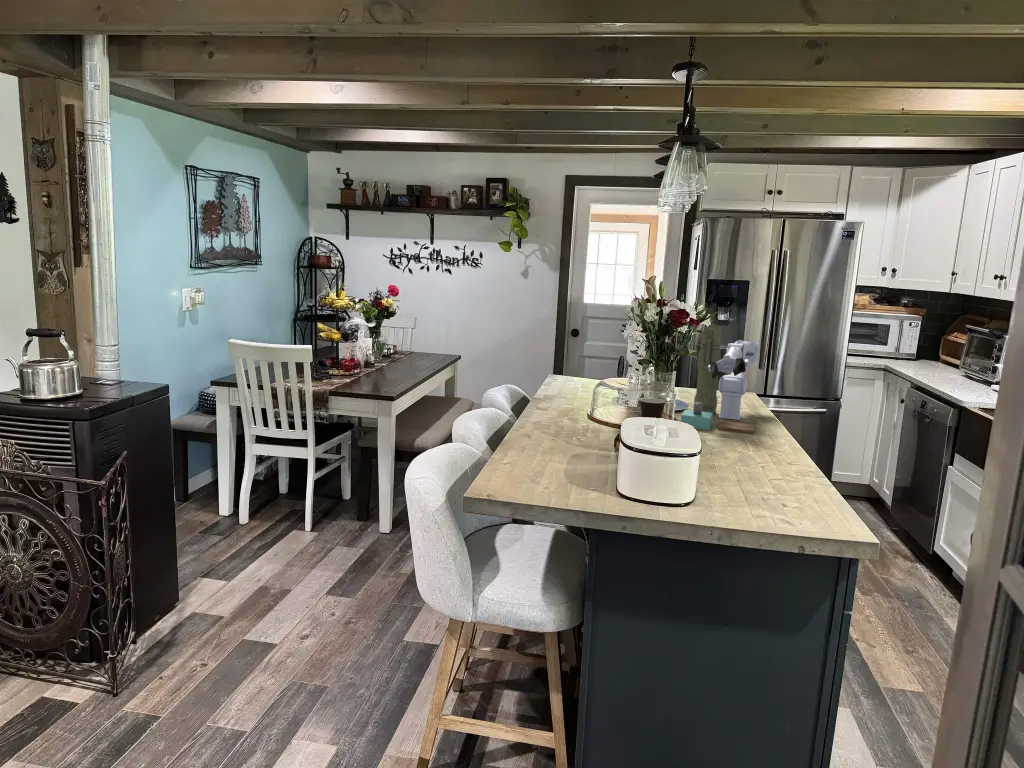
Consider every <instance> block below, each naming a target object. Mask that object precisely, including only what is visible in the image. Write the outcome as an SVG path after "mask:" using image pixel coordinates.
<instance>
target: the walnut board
mask: <svg viewBox="0 0 1024 768" xmlns="http://www.w3.org/2000/svg"><path fill="white" fill-rule="evenodd" d="M756 425H757V424H756V422H749V421H740V420H733V419H724V418H721V420H720V423H719V425H718V431H722V432H723V431H725V432H726V431H727V432H732V433H733V432H735V433H742V434H749V435H754V434H755V430H756Z"/></svg>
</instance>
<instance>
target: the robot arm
mask: <svg viewBox="0 0 1024 768" xmlns="http://www.w3.org/2000/svg"><path fill="white" fill-rule="evenodd" d="M760 345H761V344H760V343H759V342H756V341H755V342H754V341H745V340H742V339H738V340H736V341H735V342H733V343H728V344H727V347H726V350H725V354H724V355H723V357H722V358H721V360H720V361H718V362H711V363H710V365H709V366H708V370H709V372H711V371H712V378H713V379H714V378H716V377H717V376H718V377H719V376H720V372H721V373H726V374H727V375H726V374H725V375H722V376H721V377H720V378H719V379H718V384H717V391H718V393H720V394H721V402H720V413H719V414H718V416H717V417H718V418H720V419H724V420H733V421H740V420H741V418H742V414H741V405H742V396H744V395H745V394H746V393H747V388H748V379H747V377H745V376H746V374H747V372H748V370H749V368H750V366H751V365H753V364H755V363H756V362H757V361H758V358H759V357H760V356H759V355H760V352H761V351H760V350H761V349H760V348H761V346H760Z"/></svg>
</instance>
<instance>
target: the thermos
mask: <svg viewBox="0 0 1024 768" xmlns="http://www.w3.org/2000/svg"><path fill="white" fill-rule="evenodd" d="M721 328H722V327H721V326H720V325H718V324H712V323H711V324H709V326H708V327H707V328H706V329H705V330H704V331H701V336H700V347H699V348H700V349H699V352H698V355H697V364H696V365H697V368H696V369H697V380H696V381H697V382H696V393H695V396H694V400H693V403H694V402H700V403H703V404H702V412H711V413H713V415H715V414H716V413H717V407H718V396H717V393H718V384H719V376H717V377H716V378H714V379H713V378H712V371H711V372H709V370H708V366H709V365H710V363H711V362H718V361H720V360H722V355H721V344H722V329H721Z"/></svg>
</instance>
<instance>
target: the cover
mask: <svg viewBox="0 0 1024 768" xmlns="http://www.w3.org/2000/svg"><path fill="white" fill-rule="evenodd" d="M702 404H703V403H700V402H694V401H693V409H691V410H690V409H685V410H684V411H683V413H681V414H680V415H681V416H680V423H681V422H684V423H688V424H690V425H692V426H694V427H695V428H694V429H695V430H705V431H709V430H710V429H711V427H712V425H713V418H714V417H713V416H714V414H713V413H711V412H702Z"/></svg>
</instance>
